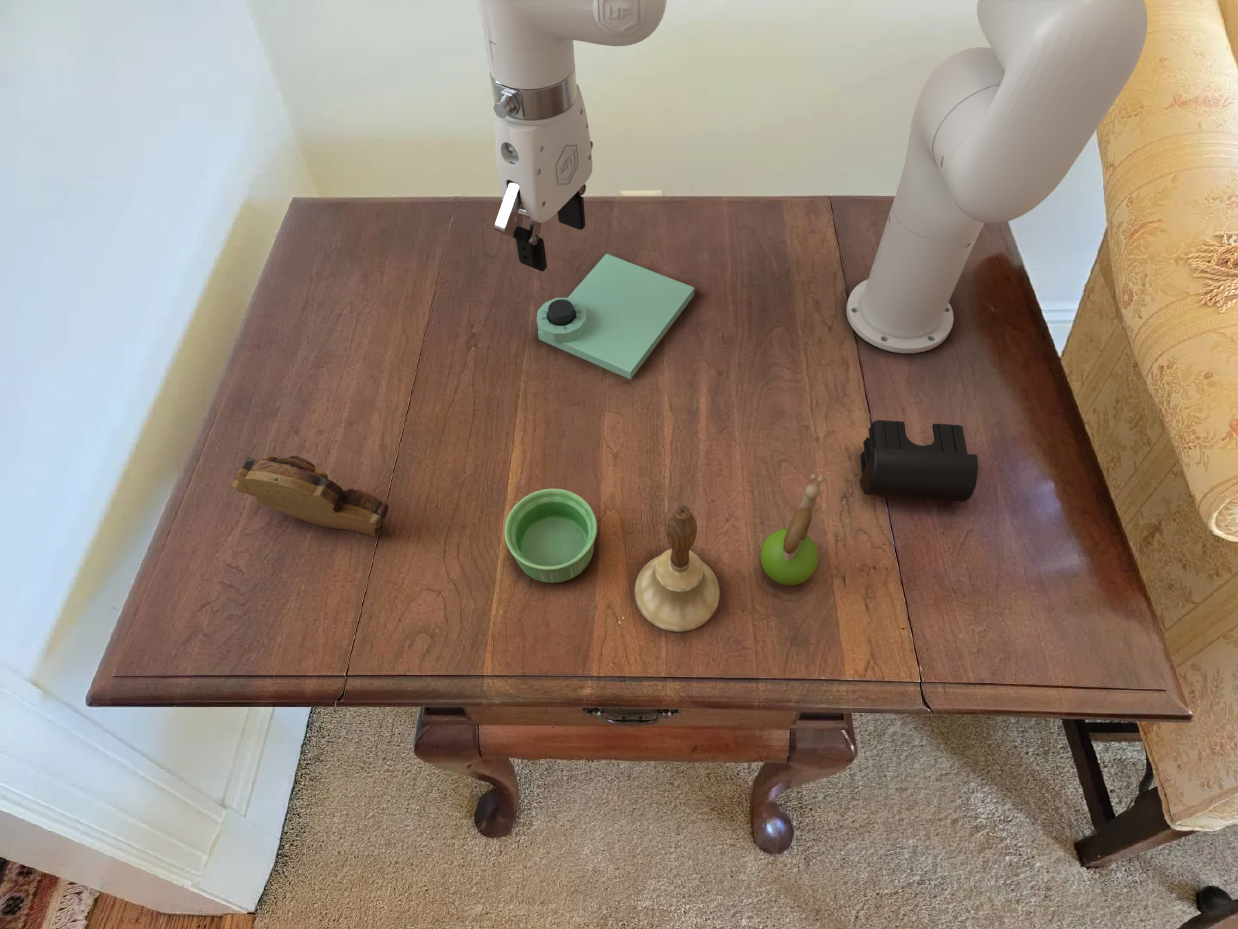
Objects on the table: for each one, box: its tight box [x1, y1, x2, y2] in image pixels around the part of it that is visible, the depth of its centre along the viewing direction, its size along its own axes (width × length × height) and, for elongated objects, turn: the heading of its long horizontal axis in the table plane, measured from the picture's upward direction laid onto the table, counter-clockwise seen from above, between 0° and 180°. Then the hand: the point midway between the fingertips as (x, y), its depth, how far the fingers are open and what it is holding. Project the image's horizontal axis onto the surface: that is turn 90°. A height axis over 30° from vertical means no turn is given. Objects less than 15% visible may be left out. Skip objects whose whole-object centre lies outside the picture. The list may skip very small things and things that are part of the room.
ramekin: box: [503, 488, 598, 584], centre depth 77 cm, size 9×9×4 cm
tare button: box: [548, 299, 574, 326], centre depth 93 cm, size 3×3×2 cm
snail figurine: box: [760, 473, 825, 586], centre depth 72 cm, size 5×6×12 cm
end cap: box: [859, 419, 979, 503], centre depth 79 cm, size 10×7×7 cm
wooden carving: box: [231, 455, 390, 537], centre depth 77 cm, size 16×5×10 cm, turn 78°
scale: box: [536, 253, 695, 380], centre depth 95 cm, size 16×14×3 cm
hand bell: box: [634, 504, 721, 633], centre depth 69 cm, size 8×8×16 cm
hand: (553, 243), depth 84 cm, fingers open, 6 cm apart
